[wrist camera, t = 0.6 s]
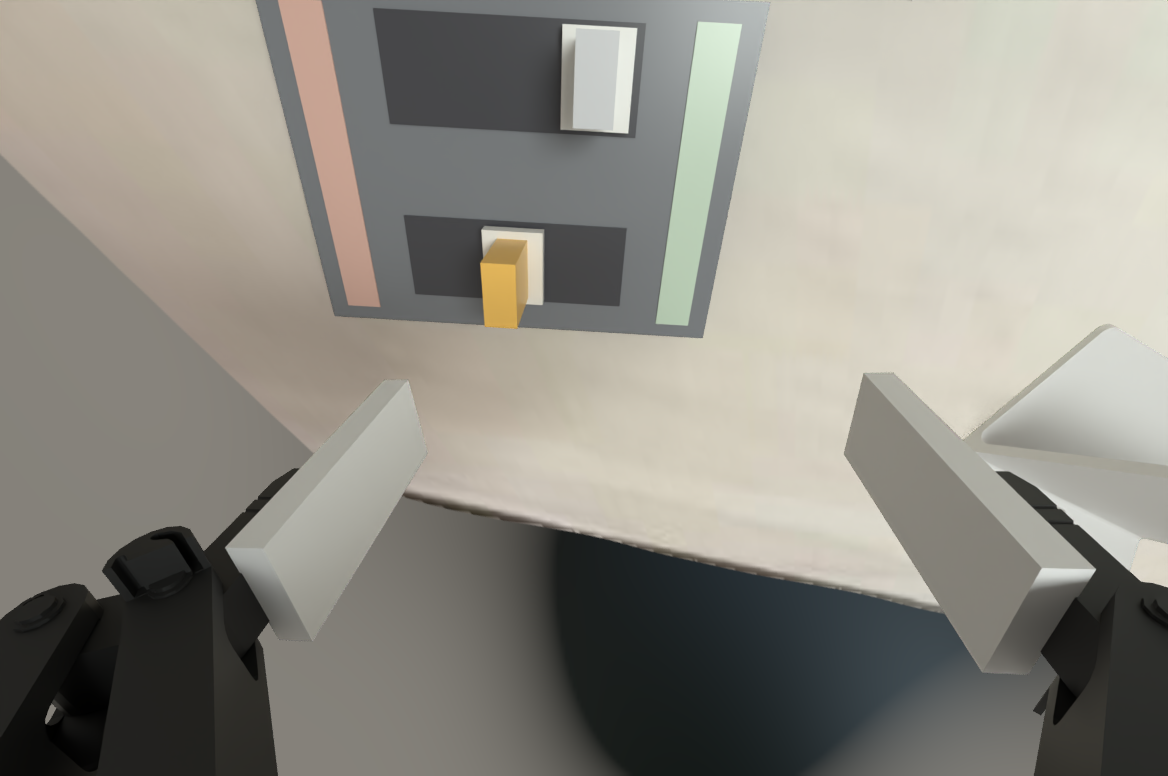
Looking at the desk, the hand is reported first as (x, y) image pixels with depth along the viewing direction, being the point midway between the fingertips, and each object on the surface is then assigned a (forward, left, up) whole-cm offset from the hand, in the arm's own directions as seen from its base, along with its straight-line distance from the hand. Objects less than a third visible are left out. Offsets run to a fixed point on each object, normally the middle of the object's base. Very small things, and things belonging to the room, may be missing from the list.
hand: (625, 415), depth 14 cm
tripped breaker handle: (+3, -7, -21) cm, 22 cm away
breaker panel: (-2, -7, -24) cm, 25 cm away
